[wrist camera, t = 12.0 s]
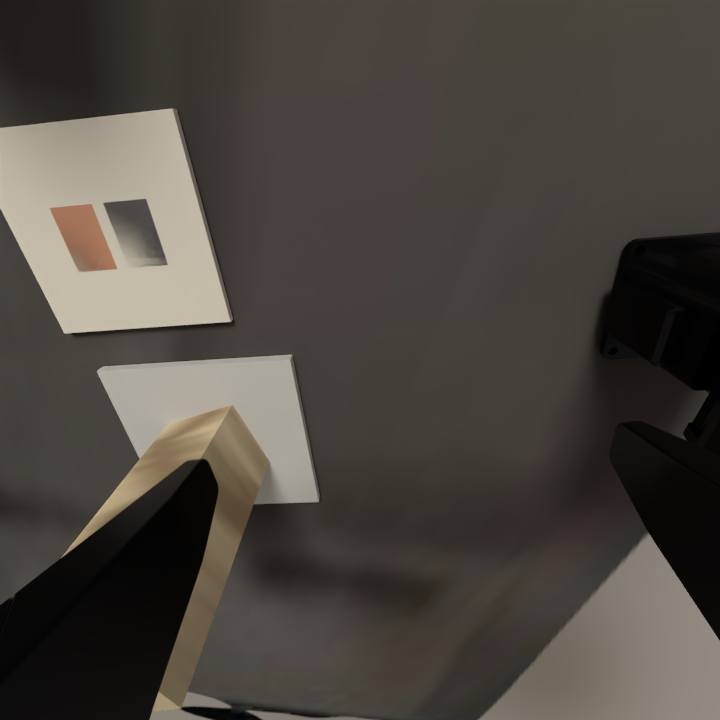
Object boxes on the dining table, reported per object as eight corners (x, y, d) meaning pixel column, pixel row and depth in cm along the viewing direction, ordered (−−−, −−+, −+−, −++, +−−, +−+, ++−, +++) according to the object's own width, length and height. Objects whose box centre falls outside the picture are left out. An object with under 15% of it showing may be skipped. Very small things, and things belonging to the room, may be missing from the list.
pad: (292, 354, 22) (290, 359, 21) (319, 495, 27) (318, 502, 27) (103, 366, 23) (96, 371, 22) (167, 500, 28) (163, 507, 28)
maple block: (232, 404, 23) (91, 642, 12) (269, 460, 25) (181, 708, 14) (166, 425, 24) (-24, 663, 12) (207, 477, 26) (77, 722, 15)
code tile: (176, 109, 16) (172, 108, 16) (233, 319, 21) (230, 321, 20) (-31, 133, 17) (-39, 132, 17) (69, 330, 22) (64, 333, 21)
